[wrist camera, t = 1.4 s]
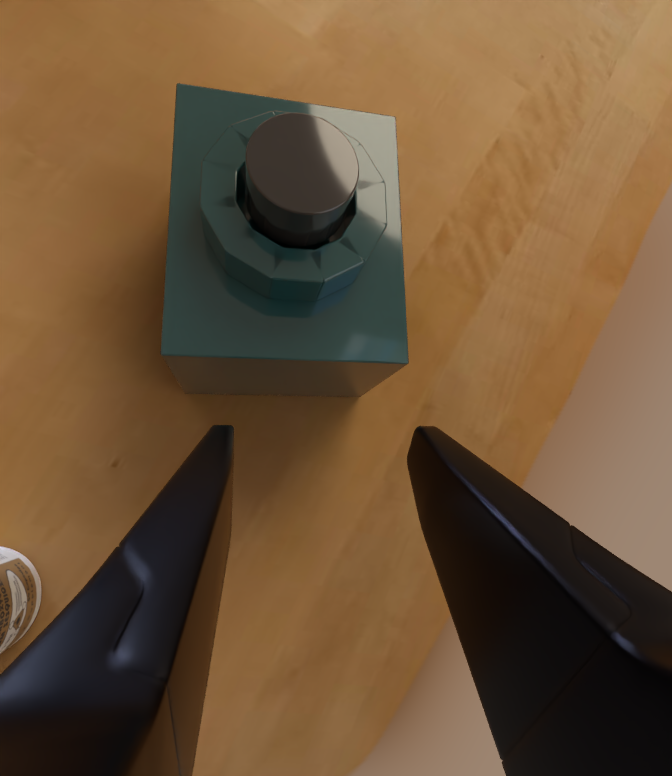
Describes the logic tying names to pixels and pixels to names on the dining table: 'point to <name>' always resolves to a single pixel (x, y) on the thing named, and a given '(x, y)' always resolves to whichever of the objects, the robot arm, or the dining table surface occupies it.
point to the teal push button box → (278, 263)
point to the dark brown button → (299, 178)
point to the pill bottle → (17, 596)
